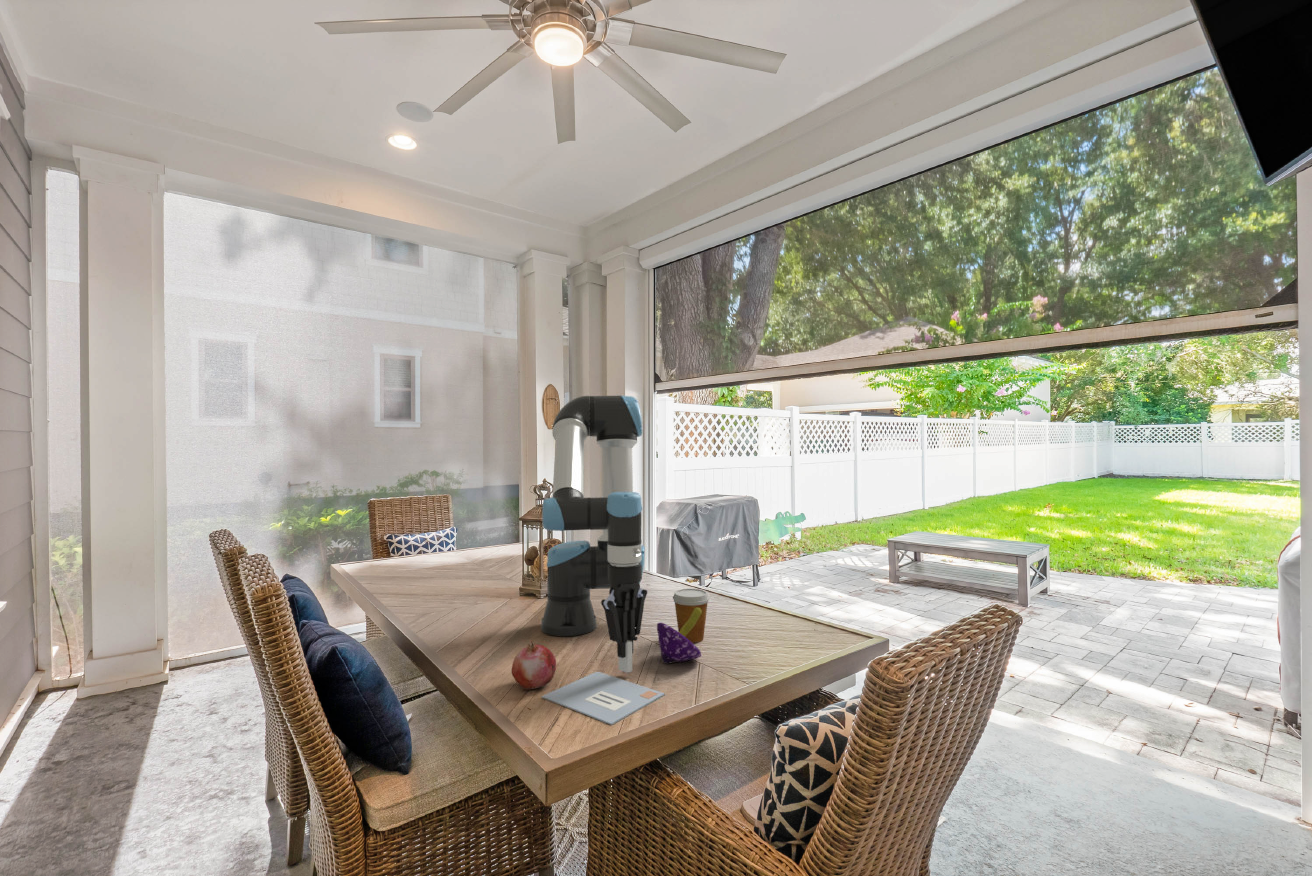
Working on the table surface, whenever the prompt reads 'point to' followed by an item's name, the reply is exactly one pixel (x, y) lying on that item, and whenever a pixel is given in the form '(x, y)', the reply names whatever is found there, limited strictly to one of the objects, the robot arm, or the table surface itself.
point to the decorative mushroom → (678, 641)
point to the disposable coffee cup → (685, 607)
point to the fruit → (534, 666)
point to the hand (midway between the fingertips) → (625, 670)
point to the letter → (604, 697)
